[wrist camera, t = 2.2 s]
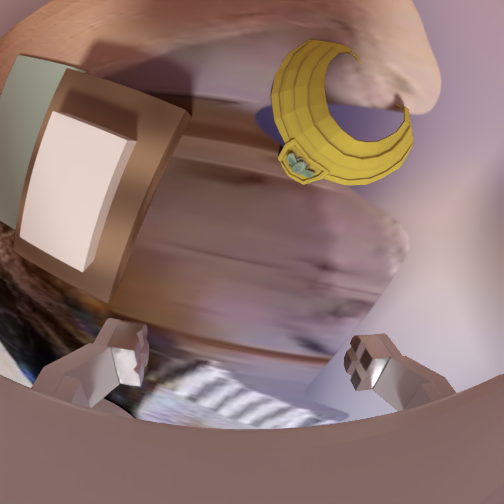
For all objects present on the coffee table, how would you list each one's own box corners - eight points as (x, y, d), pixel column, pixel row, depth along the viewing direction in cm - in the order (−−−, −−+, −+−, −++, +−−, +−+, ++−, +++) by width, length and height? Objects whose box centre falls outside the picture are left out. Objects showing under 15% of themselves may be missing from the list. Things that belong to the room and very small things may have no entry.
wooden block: (122, 280, 23) (107, 303, 19) (36, 235, 20) (13, 251, 16) (191, 117, 19) (185, 110, 15) (89, 78, 16) (66, 67, 12)
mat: (32, 238, 20) (30, 239, 20) (-24, 202, 17) (-26, 202, 17) (87, 71, 16) (86, 70, 15) (19, 55, 13) (18, 54, 13)
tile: (93, 260, 18) (82, 272, 16) (33, 228, 16) (19, 236, 14) (136, 141, 15) (127, 140, 13) (67, 113, 14) (52, 110, 12)
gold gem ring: (275, 186, 22) (288, 195, 18) (263, 38, 17) (272, 18, 13) (405, 181, 23) (433, 189, 19) (396, 55, 18) (422, 45, 14)
